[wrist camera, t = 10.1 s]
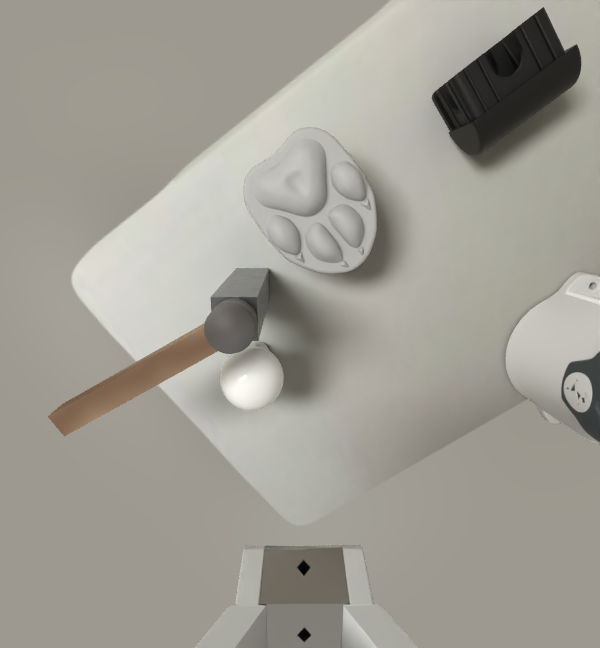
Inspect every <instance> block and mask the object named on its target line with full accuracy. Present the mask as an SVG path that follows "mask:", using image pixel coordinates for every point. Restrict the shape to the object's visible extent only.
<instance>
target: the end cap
mask: <svg viewBox="0 0 600 648" xmlns="http://www.w3.org/2000/svg"><path fill="white" fill-rule="evenodd" d="M580 71H581V56H580V51H579V48H578V46H577V44H576V45H575V46H573V47H571V48H569V49H567V50H566V51H564V49H563V47H562V45H561V43H560V40H559V38H558V36H557V34H556V32H555V30H554V28H553V26H552V24H551V21H550V19H549V17H548V15H547V13H546V11H545V9H544V7H543V8H542V9H540V10H539V11H538V12H537V13H535V14H534V15H533V16H531V17H530V18H529V19H528V20H526V21H525V22H524V23H522V24H521V25H520V26H518V27H517V28H516V29H515V30H513V31H512V32H511V33H510V34H509V35H507V36H506V37H505V38H503V39H502V40H501V41H500V42H498V43H497V44H496V45H494V46H493V47H492V48H491V49H489V50H488V51H487V52H485V53H484V54H482V55H481V56H480V57H478V58H477V59H476V60H475V61H473V62H472V63H471V64H469V65H468V66H467V67H466V68H464V69H463V70H462V71H460V72H459V73H458V74H457V75H455V76H454V77H453V78H451V79H450V80H449V81H448V82H446V83H445V84H444V85H443V86H441V87H440V88H439V89H438V90H436V91H435V92H434V93H433V95H432V100H433V102H434V104H435V106H436V107H437V109H438V111H439V113H440V114H441V116H442V118H443V120H444V121H445V123H446V125H447V127H448V128H449V130H450V132H449V134H450V136H451V137H452V139H453V140H454V141H455V143H456V144H457V145H458V146H459V147H460V148H461V149H462V150H464V151H465V152H467V153H469V154H472V155H478V154H480V153H482V152H483V151H484V150H486V149H487V148H488V147H490V146H491V145H493V144H494V143H495V142H497V141H498V140H499V139H501V138H502V137H503V136H505V135H506V134H508V133H509V132H510V131H512V130H513V129H514V128H516V127H517V126H518V125H520V124H521V123H523V122H524V121H525V120H527V119H528V118H529V117H531V116H532V115H534V114H535V113H536V112H538V111H539V110H540V109H542V108H543V107H544V106H546V105H547V104H549V103H550V102H551V101H553V100H554V99H555V98H557V97H558V96H560V95H561V94H562V93H564V92H565V91H566V90H568V89H569V88H570V87H572V86H573V85H574V84H575V83H576V81H577V79H578V77H579V75H580Z"/></svg>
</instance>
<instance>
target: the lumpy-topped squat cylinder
mask: <svg viewBox="0 0 600 648" xmlns="http://www.w3.org/2000/svg"><path fill="white" fill-rule="evenodd" d="M244 200H245V204H246V206H247V209H248V211H249V213H250V215H251V216H252V218H253V219H254V221H255V222H256V224H257V225H258V227H259V228H260V230H261V231H262V233H263V234H264V235H265V236H266V238H267V239H268V240H269V241H270V242H271V244H272V245H273V246H274V247H275V248H276V249H277V250H278V251H279V252H280V253H281V254H282V255H283V256H284V257H285V258H286V259H287V260H289V261H290V262H292V263H294V264H296V265H298V266H301V267H303V268H306V269H309V270H312V271H315V272H319V273H325V274H337V273H345V272H349V271H352V270H354V269H356V268H357V267H359V266H360V265H361V264H362V263H363V262H364V261H365V260H366V258H367V257H368V256H369V254H370V252H371V249H372V247H373V244H374V241H375V237H376V232H377V213H376V204H375V197H374V193H373V191H372V188H371V186H370V184H369V183H368V181H367V179H366V177H365V176H364V174H363V172H362V171H361V169H360V168H359V166H358V165H357V164H356V162H355V161H354V160H353V158H352V157H351V156H350V155H349V154H348V153H347V151H346V150H345V149H344V148H343V147H342V145H341V144H340V143H339V142H338V141H337V140H336V139H335V138H334V137H333V136H332V135H330V134H329V133H328V132H326V131H324V130H321V129H318V128H310V127H307V128H301V129H299V130H297V131H295V132H293V133H292V134H291V135H290V136H289V137H288V138H287V139H286V141H285V142H284V143H283V144H282V146H281V147H280V148H279V149H278V150H277V151H276V152H275V153H274V154H273V155H272V156H271V157H269V158H268V159H266V160H264V161H262V162H261V163H259V164H258V165H256V166H255V167H254V168H252V169H251V170H250V172H249V173H248V174H247V176H246V178H245V182H244Z"/></svg>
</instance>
